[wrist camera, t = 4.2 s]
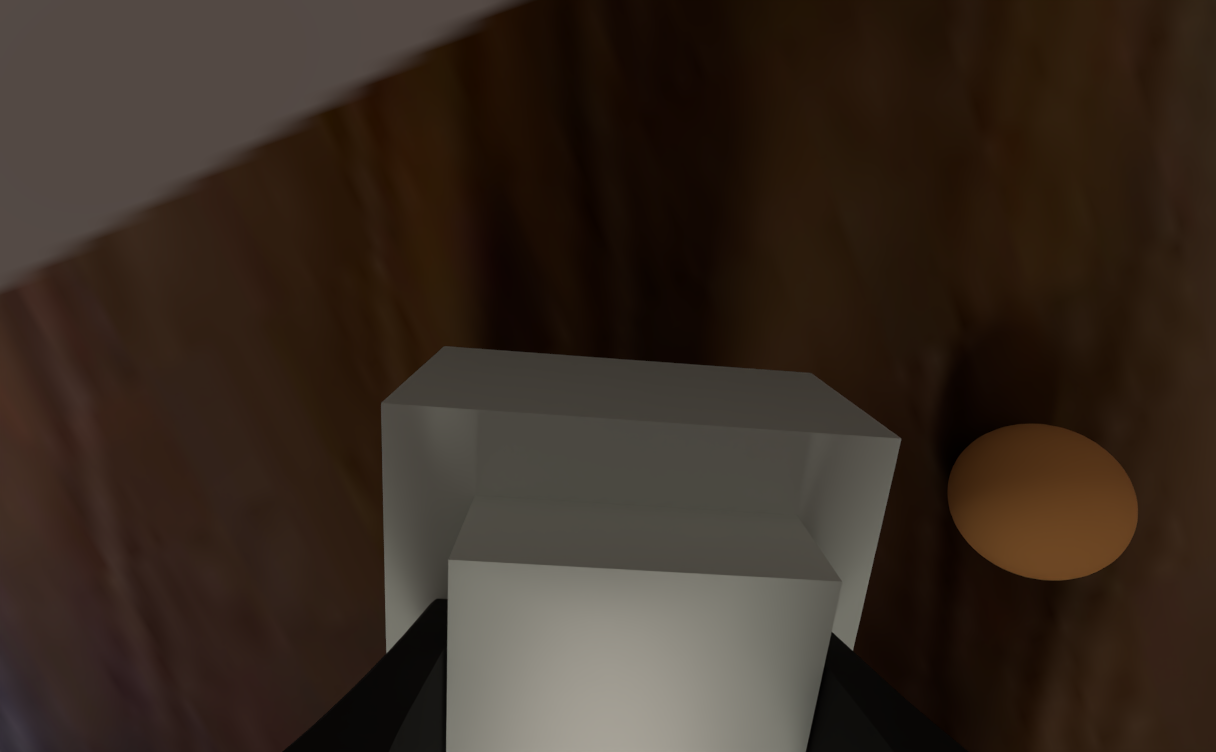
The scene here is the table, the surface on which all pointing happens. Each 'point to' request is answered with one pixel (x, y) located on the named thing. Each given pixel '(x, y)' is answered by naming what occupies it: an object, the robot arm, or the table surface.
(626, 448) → the white block
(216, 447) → the table surface
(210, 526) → the table surface
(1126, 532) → the ball
